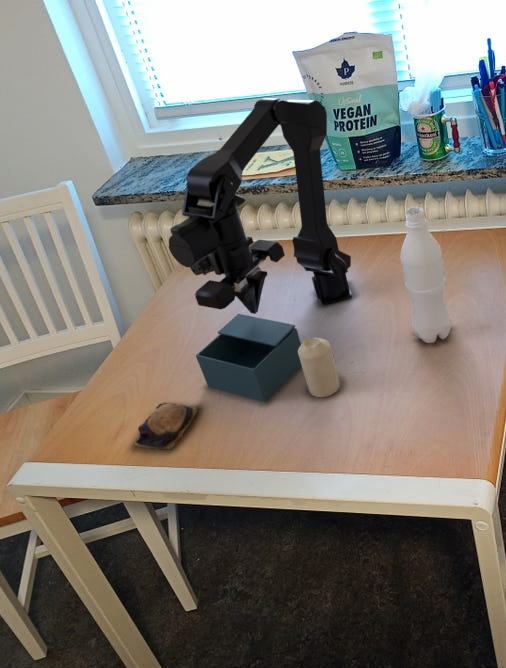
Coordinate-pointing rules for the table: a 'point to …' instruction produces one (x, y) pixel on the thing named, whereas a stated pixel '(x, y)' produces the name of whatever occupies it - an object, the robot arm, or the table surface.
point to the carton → (249, 365)
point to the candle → (319, 367)
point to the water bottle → (424, 278)
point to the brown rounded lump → (165, 426)
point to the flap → (257, 329)
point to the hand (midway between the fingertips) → (254, 312)
